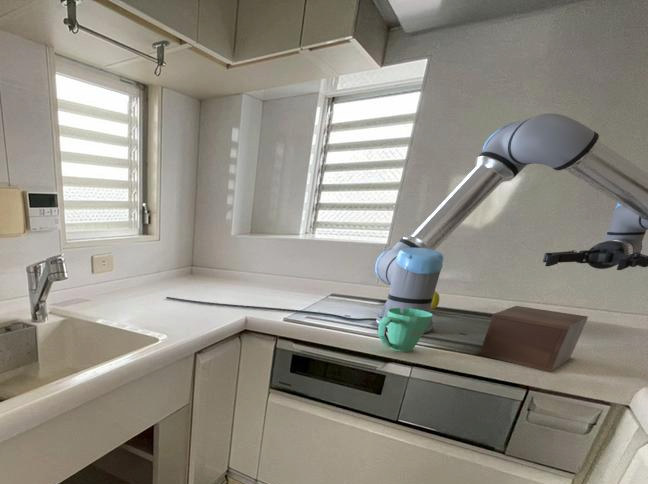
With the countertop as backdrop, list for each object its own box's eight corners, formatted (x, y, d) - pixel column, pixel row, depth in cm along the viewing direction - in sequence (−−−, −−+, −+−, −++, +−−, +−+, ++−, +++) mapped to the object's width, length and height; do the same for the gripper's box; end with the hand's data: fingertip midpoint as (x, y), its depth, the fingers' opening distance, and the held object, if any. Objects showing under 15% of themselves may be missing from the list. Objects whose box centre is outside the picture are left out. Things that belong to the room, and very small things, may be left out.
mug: (396, 341, 113) (404, 306, 109) (430, 352, 105) (441, 314, 101) (358, 348, 108) (366, 311, 104) (392, 360, 99) (402, 320, 96)
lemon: (415, 309, 148) (420, 288, 145) (431, 310, 147) (437, 288, 144) (421, 313, 143) (427, 291, 140) (438, 314, 142) (445, 291, 139)
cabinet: (502, 344, 111) (515, 305, 107) (570, 358, 100) (588, 316, 96) (479, 355, 103) (493, 313, 99) (550, 372, 92) (569, 326, 88)
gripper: (671, 270, 106) (649, 282, 97) (547, 264, 127) (518, 273, 117) (683, 241, 104) (662, 249, 94) (554, 239, 124) (526, 246, 114)
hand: (582, 262), depth 105 cm, fingers open, 13 cm apart
